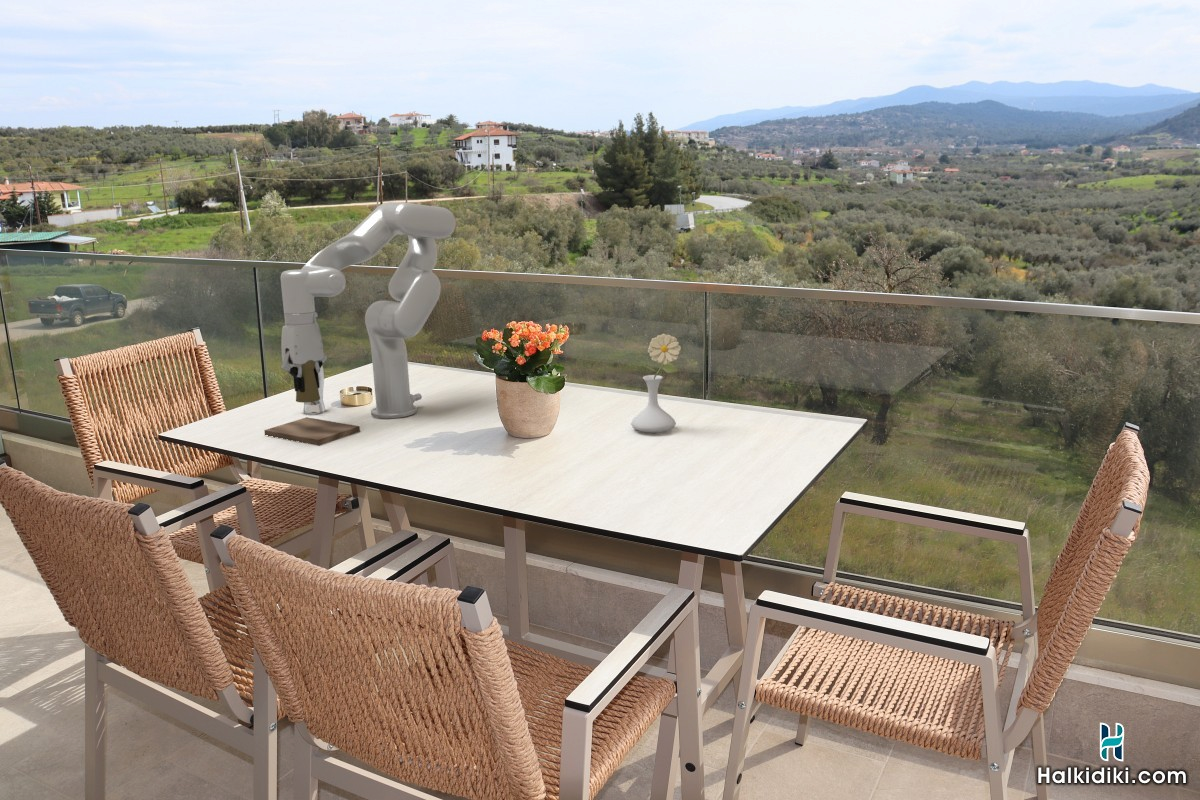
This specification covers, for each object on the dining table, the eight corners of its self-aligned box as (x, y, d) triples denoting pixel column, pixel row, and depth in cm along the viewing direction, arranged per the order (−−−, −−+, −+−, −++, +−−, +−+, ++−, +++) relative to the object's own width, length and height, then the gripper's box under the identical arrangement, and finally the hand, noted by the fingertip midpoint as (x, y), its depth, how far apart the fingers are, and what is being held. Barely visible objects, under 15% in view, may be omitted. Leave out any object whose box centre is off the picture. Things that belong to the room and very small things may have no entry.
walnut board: (307, 422, 248) (306, 417, 248) (360, 431, 238) (359, 426, 238) (265, 435, 237) (264, 430, 236) (318, 445, 227) (318, 439, 226)
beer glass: (296, 414, 258) (290, 362, 254) (312, 408, 264) (307, 357, 260) (316, 416, 255) (311, 363, 251) (332, 410, 261) (327, 358, 258)
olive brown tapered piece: (313, 402, 232) (308, 360, 229) (291, 402, 233) (286, 359, 230) (324, 397, 237) (320, 355, 235) (303, 396, 239) (299, 355, 236)
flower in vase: (625, 434, 229) (623, 336, 223) (638, 422, 240) (637, 328, 234) (675, 438, 225) (674, 338, 219) (687, 426, 235) (686, 330, 229)
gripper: (315, 313, 239) (322, 382, 243) (263, 323, 225) (270, 395, 230) (335, 315, 235) (342, 384, 240) (283, 324, 221) (291, 398, 226)
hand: (307, 389), depth 235 cm, fingers closed on olive brown tapered piece, 4 cm apart
